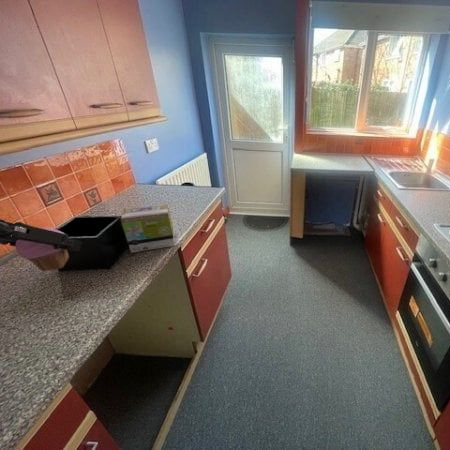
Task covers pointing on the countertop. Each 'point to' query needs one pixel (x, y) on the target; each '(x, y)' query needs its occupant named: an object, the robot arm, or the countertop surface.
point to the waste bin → (95, 242)
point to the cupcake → (42, 254)
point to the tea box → (148, 227)
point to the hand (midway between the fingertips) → (59, 246)
